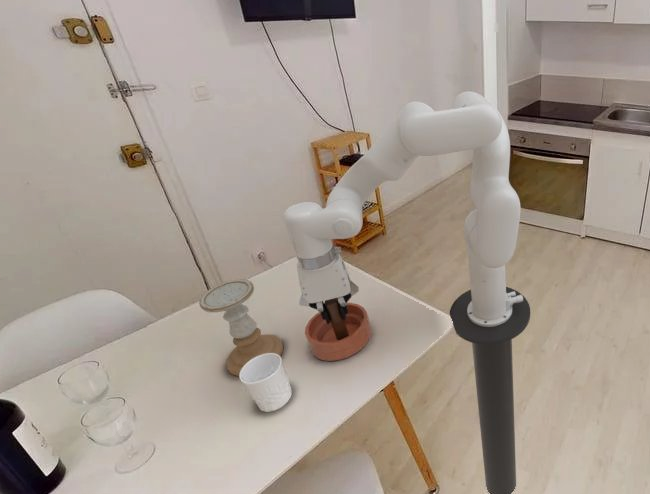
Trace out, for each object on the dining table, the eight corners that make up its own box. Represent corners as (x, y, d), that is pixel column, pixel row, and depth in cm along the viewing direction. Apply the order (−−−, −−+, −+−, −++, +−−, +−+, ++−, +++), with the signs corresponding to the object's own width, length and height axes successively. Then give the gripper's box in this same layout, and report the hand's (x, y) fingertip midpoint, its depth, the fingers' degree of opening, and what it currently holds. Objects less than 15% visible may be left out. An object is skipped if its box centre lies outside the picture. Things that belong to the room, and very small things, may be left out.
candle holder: (260, 380, 94) (228, 315, 84) (215, 372, 97) (179, 308, 87) (294, 341, 105) (270, 279, 95) (253, 334, 107) (225, 273, 97)
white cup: (257, 390, 92) (241, 360, 87) (295, 378, 95) (282, 348, 90) (253, 420, 86) (236, 389, 81) (294, 406, 88) (280, 375, 83)
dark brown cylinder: (349, 331, 104) (337, 295, 98) (349, 339, 102) (337, 302, 96) (336, 334, 103) (324, 298, 97) (336, 343, 101) (324, 306, 95)
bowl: (369, 313, 113) (365, 297, 110) (373, 352, 101) (368, 334, 98) (313, 328, 109) (307, 311, 106) (309, 369, 97) (302, 352, 94)
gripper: (355, 239, 96) (370, 299, 105) (278, 255, 91) (301, 316, 100) (356, 257, 89) (372, 319, 99) (273, 274, 85) (299, 338, 94)
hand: (336, 317), depth 99 cm, fingers closed on dark brown cylinder, 3 cm apart
